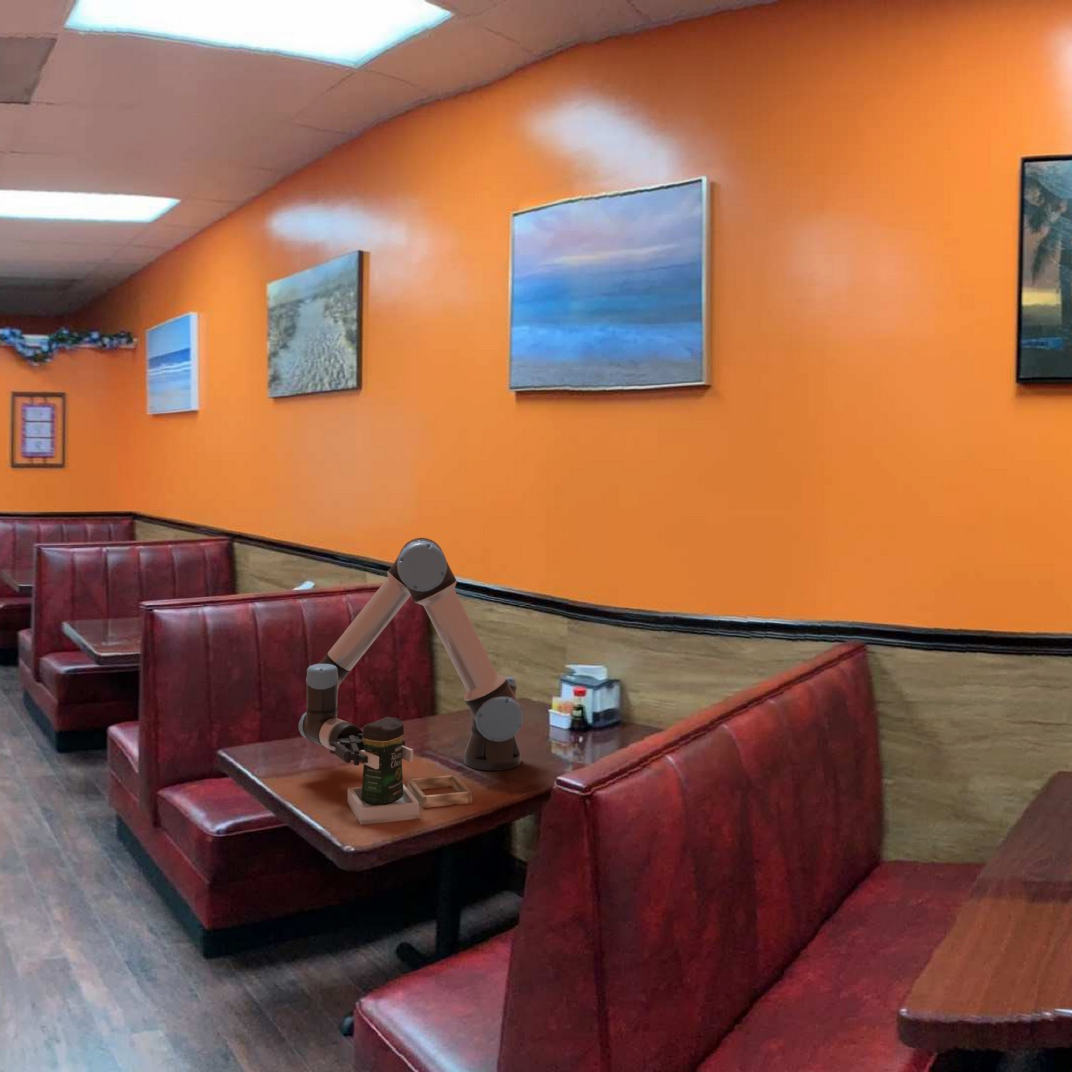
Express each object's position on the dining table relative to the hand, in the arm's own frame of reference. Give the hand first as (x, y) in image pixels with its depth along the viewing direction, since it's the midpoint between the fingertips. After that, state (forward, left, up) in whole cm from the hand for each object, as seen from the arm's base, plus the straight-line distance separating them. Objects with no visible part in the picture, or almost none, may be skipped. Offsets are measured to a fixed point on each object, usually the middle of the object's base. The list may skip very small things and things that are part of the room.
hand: (394, 759), depth 226 cm
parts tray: (+2, -4, -13) cm, 14 cm away
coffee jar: (+1, -4, -11) cm, 12 cm away
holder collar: (-13, -10, -13) cm, 21 cm away
